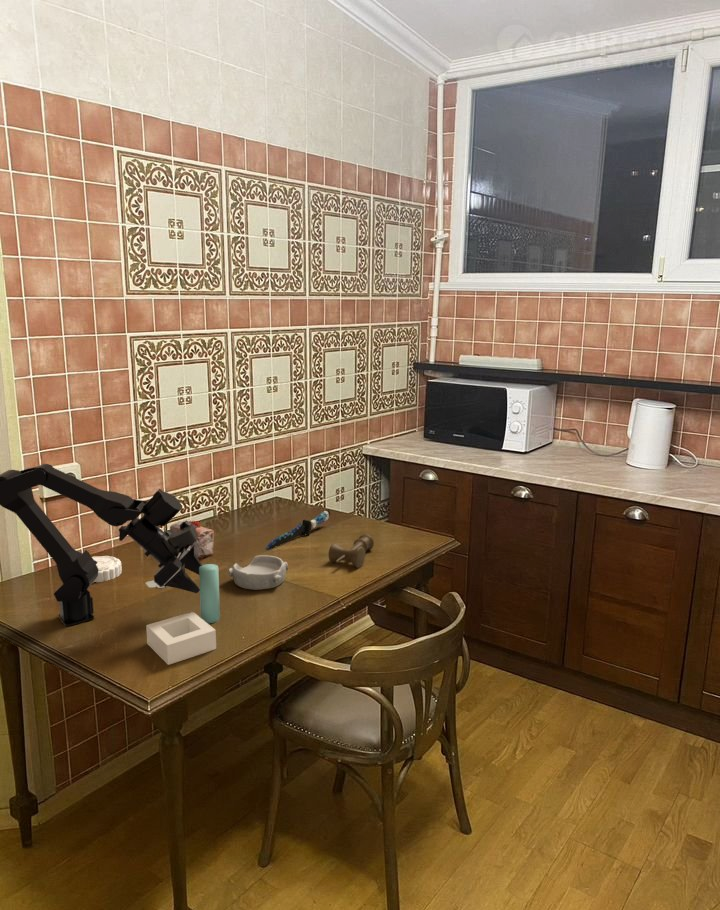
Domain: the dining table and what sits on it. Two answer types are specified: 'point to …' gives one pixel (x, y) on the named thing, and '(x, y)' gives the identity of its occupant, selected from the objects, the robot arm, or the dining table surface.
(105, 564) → the mooncake
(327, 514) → the knife
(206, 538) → the food item
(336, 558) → the kendama
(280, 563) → the dish
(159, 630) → the well block
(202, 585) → the teal dowel
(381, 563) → the dining table surface
